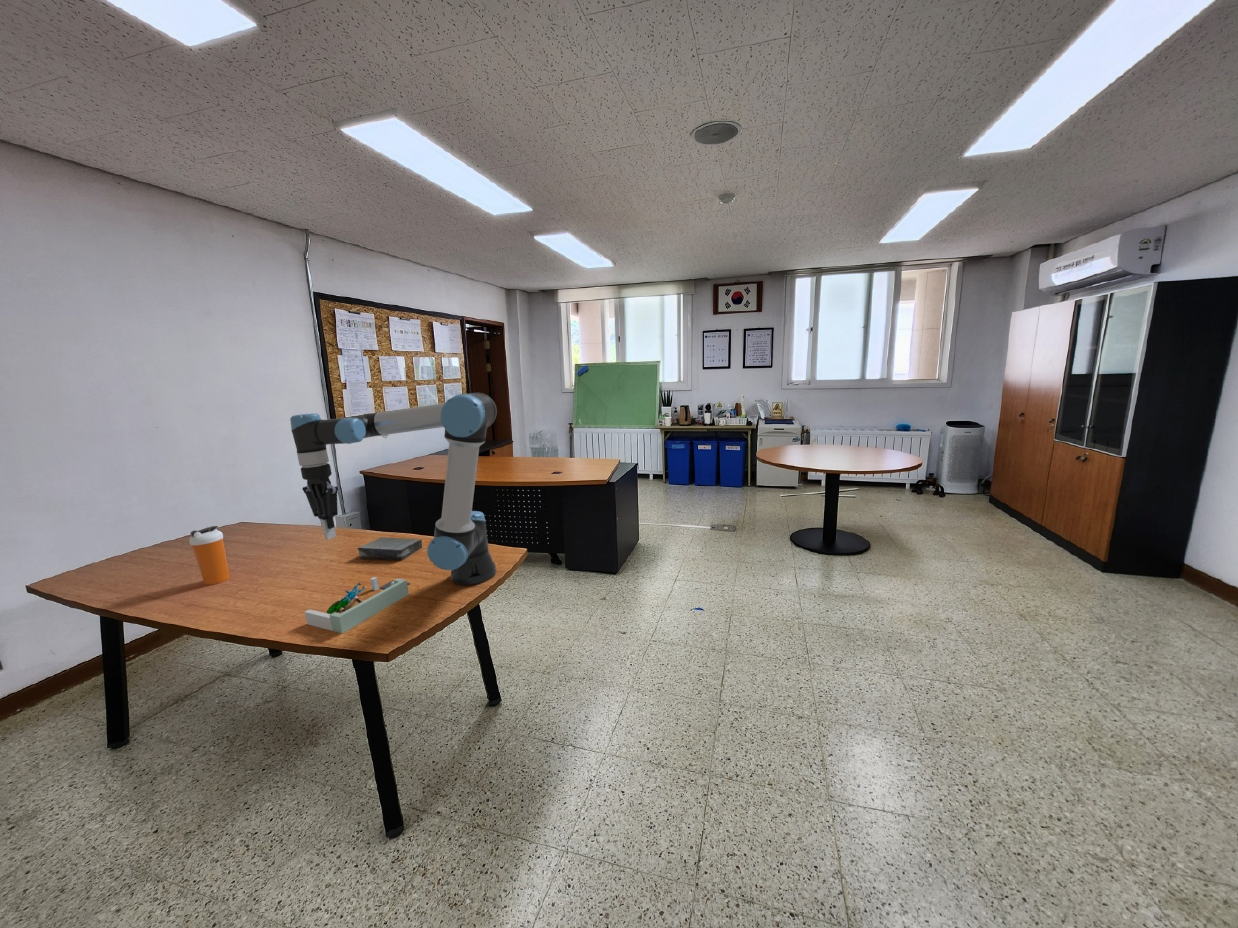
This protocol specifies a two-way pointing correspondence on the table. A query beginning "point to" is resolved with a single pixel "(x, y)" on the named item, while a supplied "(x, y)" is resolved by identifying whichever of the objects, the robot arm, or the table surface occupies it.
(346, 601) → the stick construction toy
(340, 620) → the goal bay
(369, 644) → the table surface
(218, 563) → the shaker bottle
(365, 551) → the stone block
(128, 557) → the table surface
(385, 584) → the trap mat
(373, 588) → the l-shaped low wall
